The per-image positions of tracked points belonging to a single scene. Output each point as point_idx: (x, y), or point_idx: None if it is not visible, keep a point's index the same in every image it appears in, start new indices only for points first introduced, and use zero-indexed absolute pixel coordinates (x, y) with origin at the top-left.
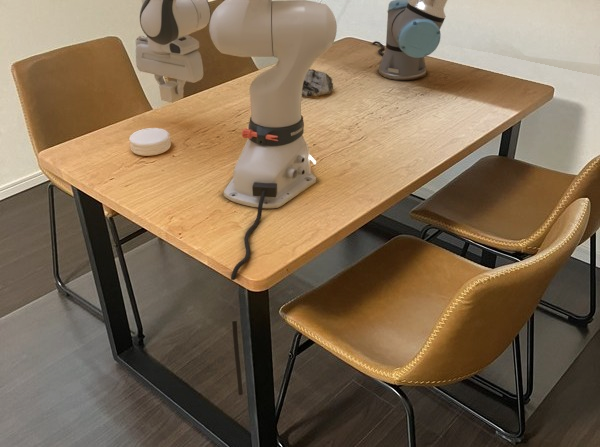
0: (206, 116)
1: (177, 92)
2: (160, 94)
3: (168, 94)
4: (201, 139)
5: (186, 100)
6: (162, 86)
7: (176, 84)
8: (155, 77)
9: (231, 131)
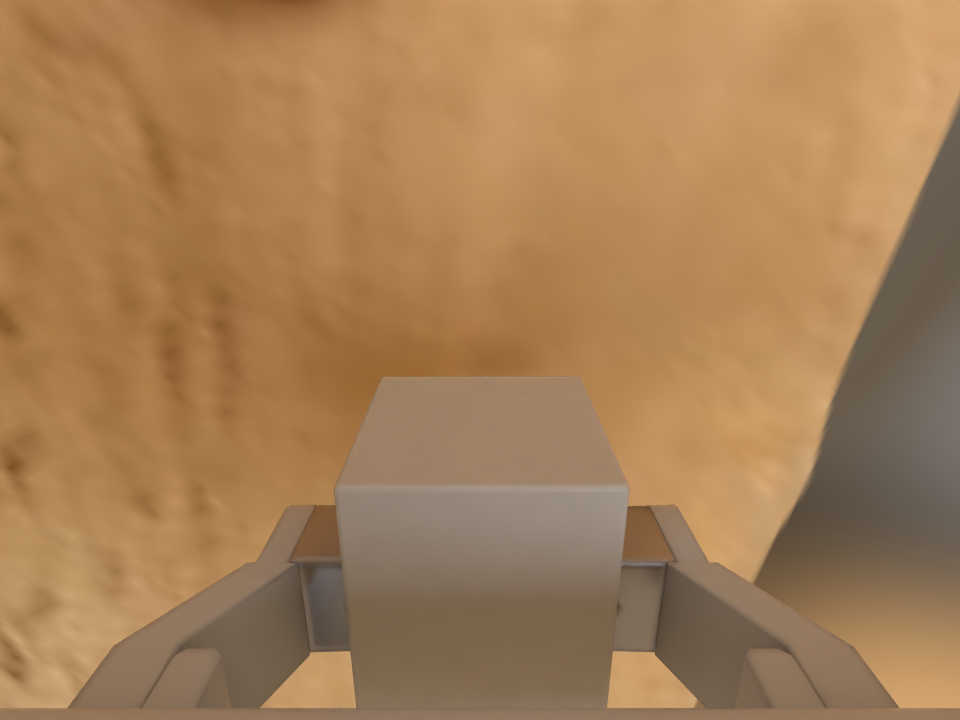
0: None
1: (320, 518)
2: (591, 408)
3: (423, 423)
4: (68, 217)
5: (686, 690)
6: (544, 489)
7: (380, 654)
8: (839, 656)
9: (15, 448)
